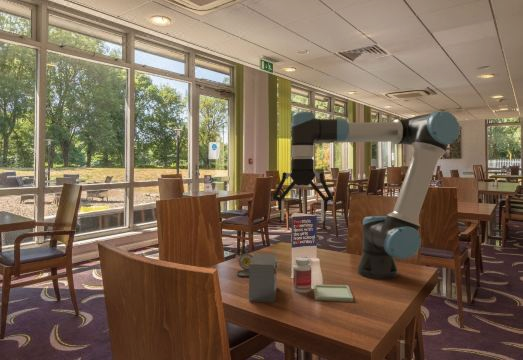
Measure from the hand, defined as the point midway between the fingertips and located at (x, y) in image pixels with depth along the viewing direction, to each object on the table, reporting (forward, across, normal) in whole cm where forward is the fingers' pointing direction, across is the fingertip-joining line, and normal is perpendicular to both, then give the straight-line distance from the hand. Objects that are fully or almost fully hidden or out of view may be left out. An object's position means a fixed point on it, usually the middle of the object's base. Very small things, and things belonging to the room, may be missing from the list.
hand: (302, 220), depth 127 cm
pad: (+24, -10, +3) cm, 27 cm away
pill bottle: (+25, 0, 0) cm, 25 cm away
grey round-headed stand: (+25, +22, -17) cm, 37 cm away
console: (+24, +13, +5) cm, 28 cm away
